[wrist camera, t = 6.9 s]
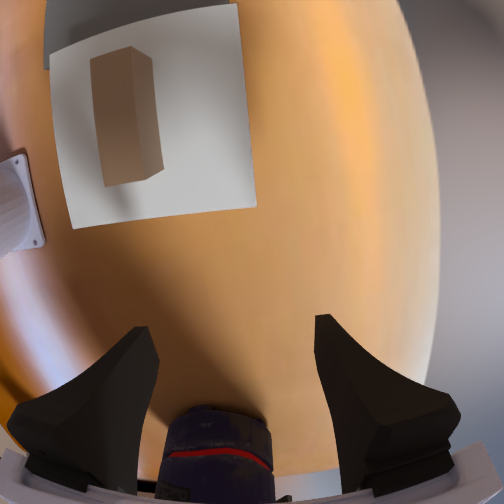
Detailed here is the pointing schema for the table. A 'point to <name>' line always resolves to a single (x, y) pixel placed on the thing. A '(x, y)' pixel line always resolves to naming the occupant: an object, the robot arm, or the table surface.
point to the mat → (103, 18)
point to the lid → (154, 119)
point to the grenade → (217, 460)
